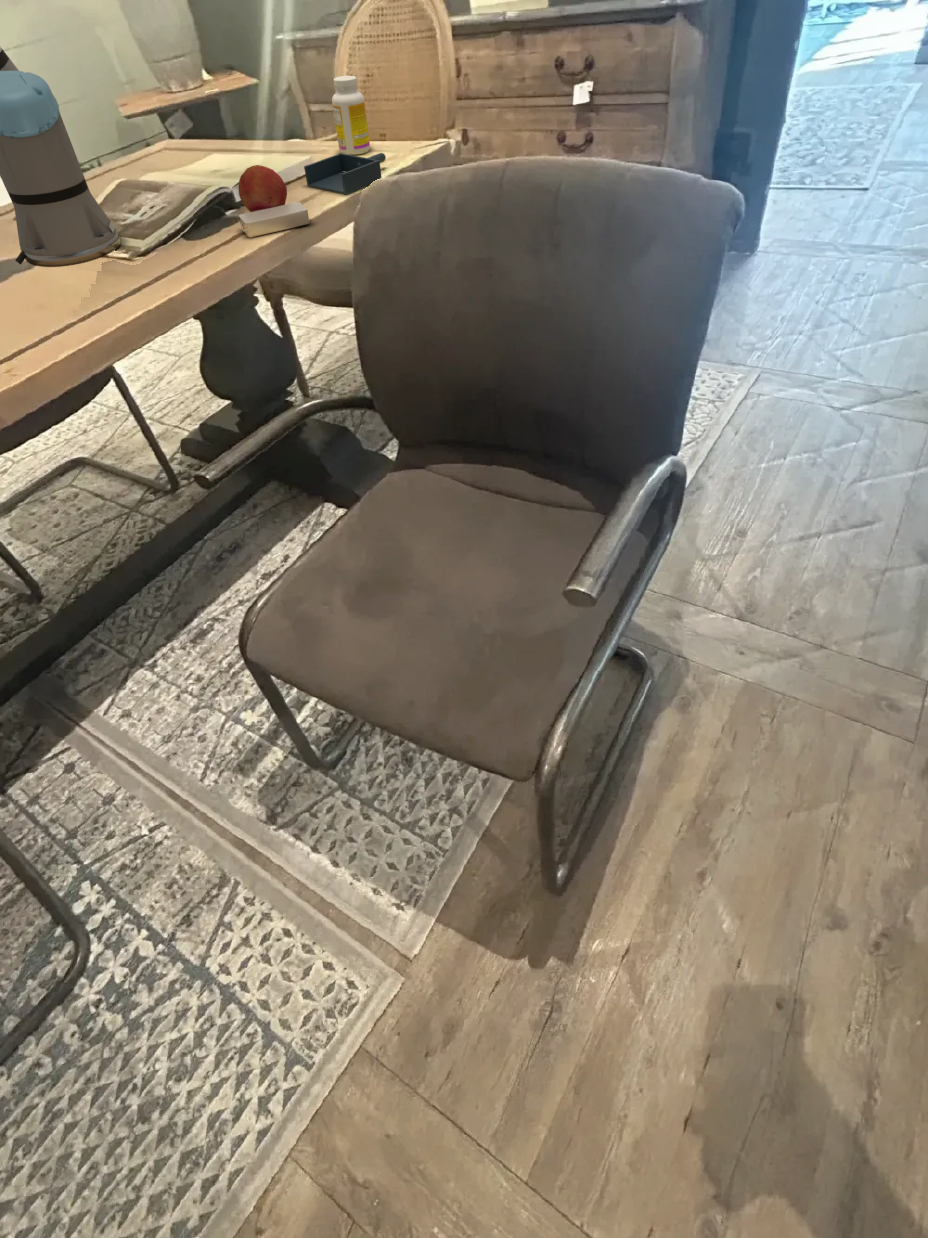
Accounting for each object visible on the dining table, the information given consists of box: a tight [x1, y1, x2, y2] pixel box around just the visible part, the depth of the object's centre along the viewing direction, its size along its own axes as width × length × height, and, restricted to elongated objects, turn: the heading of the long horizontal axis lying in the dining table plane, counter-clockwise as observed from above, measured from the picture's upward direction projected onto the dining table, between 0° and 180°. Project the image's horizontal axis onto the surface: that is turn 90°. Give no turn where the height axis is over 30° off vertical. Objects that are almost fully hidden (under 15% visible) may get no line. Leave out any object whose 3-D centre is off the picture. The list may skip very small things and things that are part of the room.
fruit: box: [238, 164, 288, 213], centre depth 124 cm, size 8×8×10 cm
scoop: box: [303, 152, 387, 196], centre depth 139 cm, size 17×10×3 cm, turn 142°
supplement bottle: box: [331, 75, 371, 156], centre depth 149 cm, size 7×7×13 cm
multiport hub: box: [238, 201, 311, 238], centre depth 122 cm, size 4×11×2 cm, turn 117°
